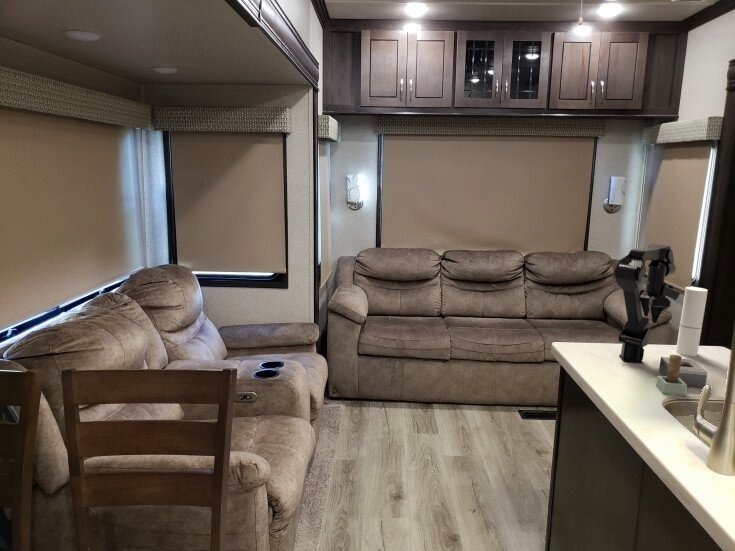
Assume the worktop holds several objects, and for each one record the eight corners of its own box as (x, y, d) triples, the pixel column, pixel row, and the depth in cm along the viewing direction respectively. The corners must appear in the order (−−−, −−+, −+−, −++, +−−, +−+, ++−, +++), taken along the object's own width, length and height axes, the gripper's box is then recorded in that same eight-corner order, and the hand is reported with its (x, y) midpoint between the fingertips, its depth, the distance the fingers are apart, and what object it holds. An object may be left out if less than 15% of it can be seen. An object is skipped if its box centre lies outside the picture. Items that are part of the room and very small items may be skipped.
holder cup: (663, 393, 174) (664, 383, 173) (656, 386, 180) (657, 375, 179) (685, 396, 173) (687, 385, 172) (677, 388, 179) (679, 377, 178)
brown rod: (667, 391, 175) (672, 357, 173) (663, 387, 178) (668, 354, 176) (678, 392, 174) (683, 358, 172) (674, 388, 178) (679, 355, 175)
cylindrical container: (699, 353, 214) (709, 289, 209) (694, 357, 209) (705, 292, 204) (678, 348, 219) (688, 286, 214) (673, 352, 214) (683, 288, 209)
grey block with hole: (671, 385, 181) (674, 369, 180) (658, 372, 192) (660, 356, 191) (704, 388, 179) (707, 372, 178) (689, 374, 191) (692, 359, 190)
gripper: (689, 285, 197) (682, 328, 200) (669, 275, 215) (664, 314, 218) (655, 283, 198) (649, 325, 201) (639, 273, 216) (633, 312, 219)
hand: (649, 319), depth 210 cm, fingers open, 9 cm apart
